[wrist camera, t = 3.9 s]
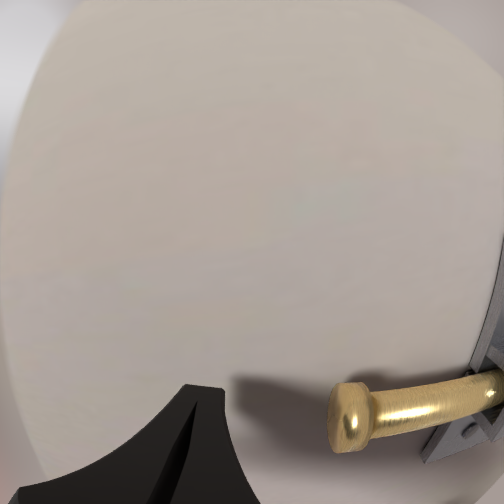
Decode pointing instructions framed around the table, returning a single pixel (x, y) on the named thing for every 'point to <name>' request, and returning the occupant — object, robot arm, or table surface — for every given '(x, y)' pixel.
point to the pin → (406, 408)
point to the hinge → (484, 359)
